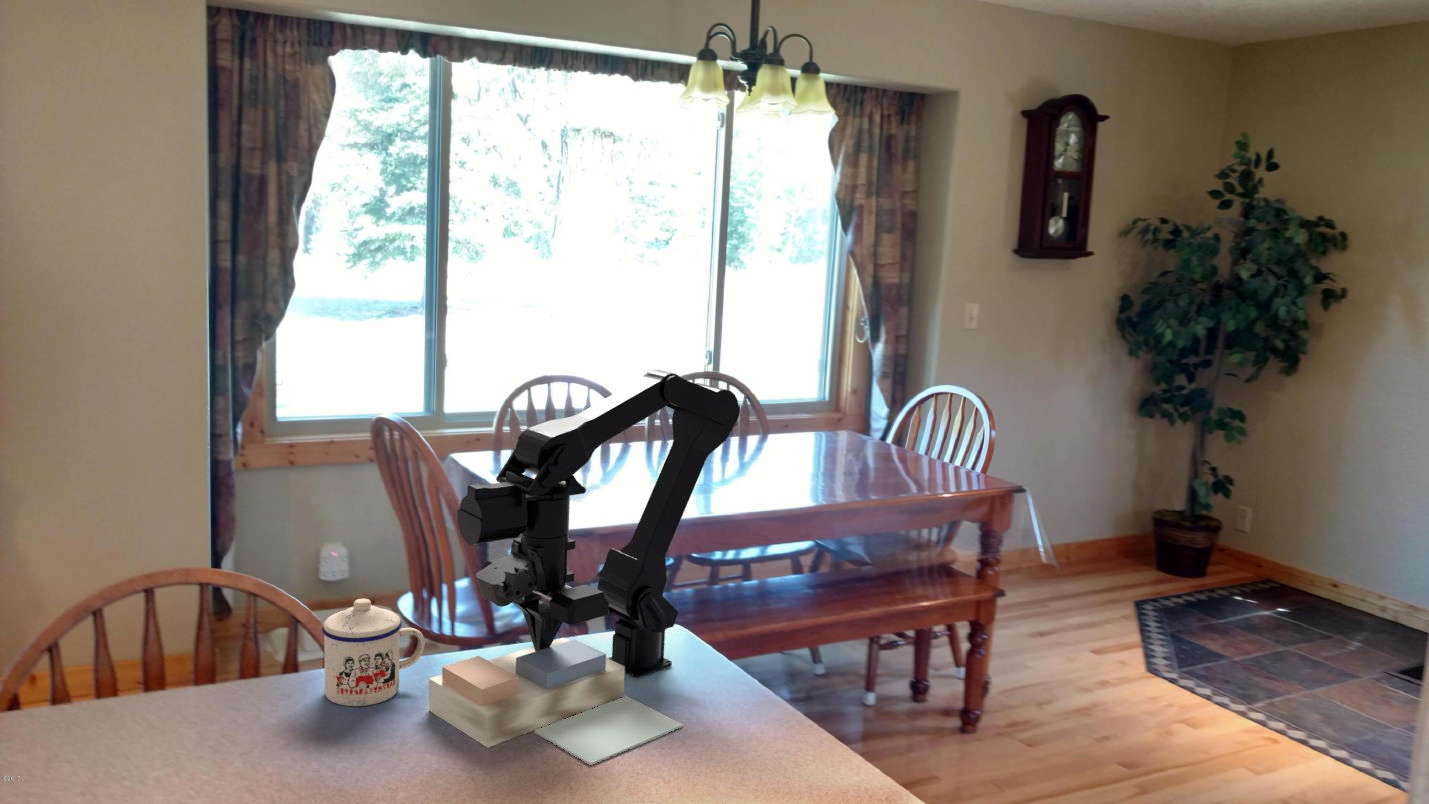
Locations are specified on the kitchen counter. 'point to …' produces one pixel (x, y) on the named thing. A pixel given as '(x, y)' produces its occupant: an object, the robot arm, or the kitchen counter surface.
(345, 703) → the teacup with lid
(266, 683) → the kitchen counter surface
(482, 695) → the terracotta tile
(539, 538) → the robot arm
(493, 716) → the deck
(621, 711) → the mat
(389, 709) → the kitchen counter surface
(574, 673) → the grey-blue rectangular block
